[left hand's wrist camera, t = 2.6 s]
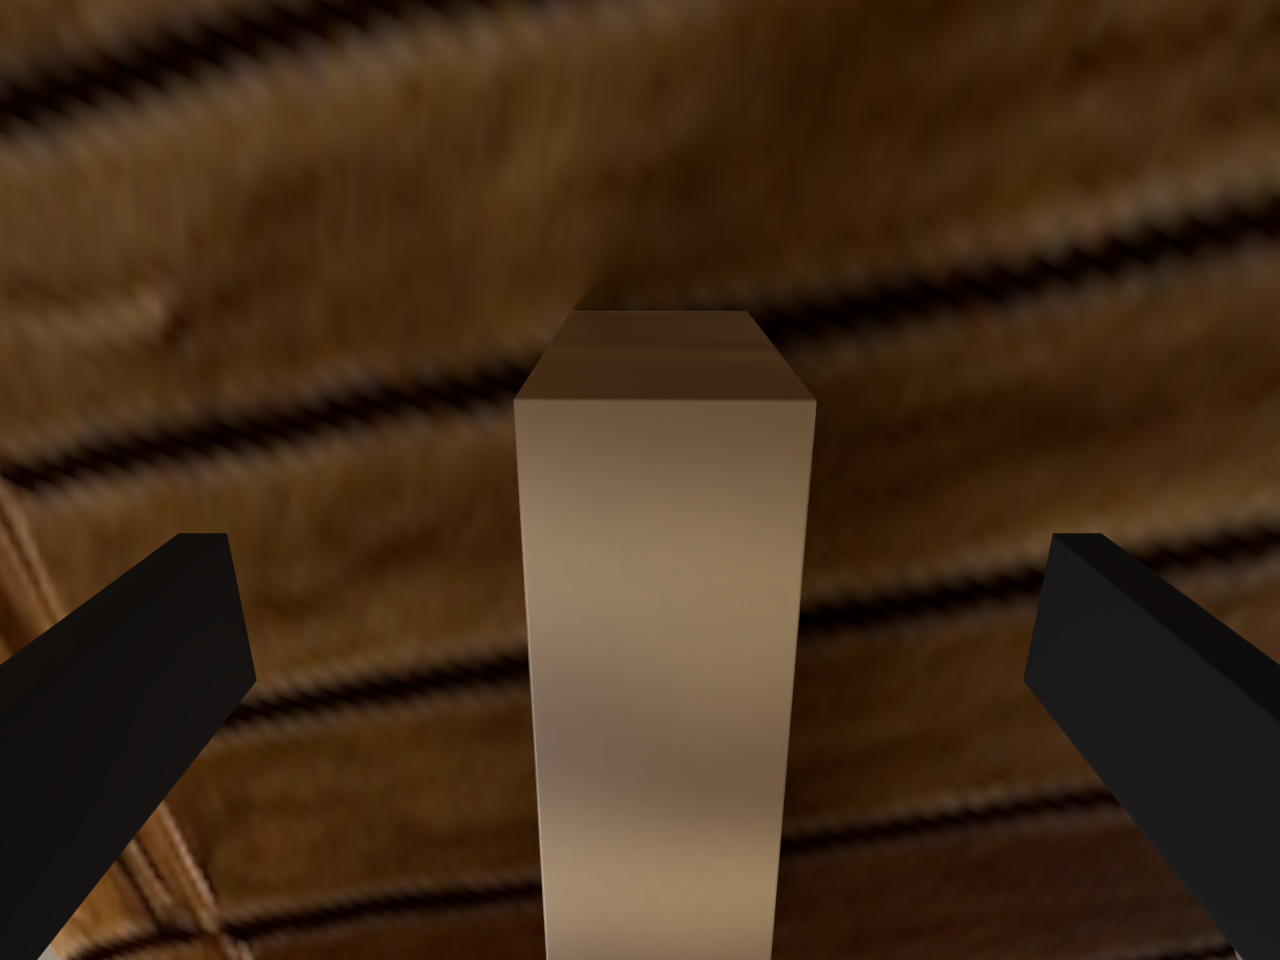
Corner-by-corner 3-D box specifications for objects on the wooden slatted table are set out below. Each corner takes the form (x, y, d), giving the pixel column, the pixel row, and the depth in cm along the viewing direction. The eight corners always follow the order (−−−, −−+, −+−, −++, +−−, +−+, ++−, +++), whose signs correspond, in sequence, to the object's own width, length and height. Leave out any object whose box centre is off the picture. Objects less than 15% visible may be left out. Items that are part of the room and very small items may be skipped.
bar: (570, 310, 20) (512, 398, 11) (747, 310, 20) (817, 400, 11) (590, 954, 27) (564, 1282, 19) (716, 956, 27) (744, 1285, 19)
